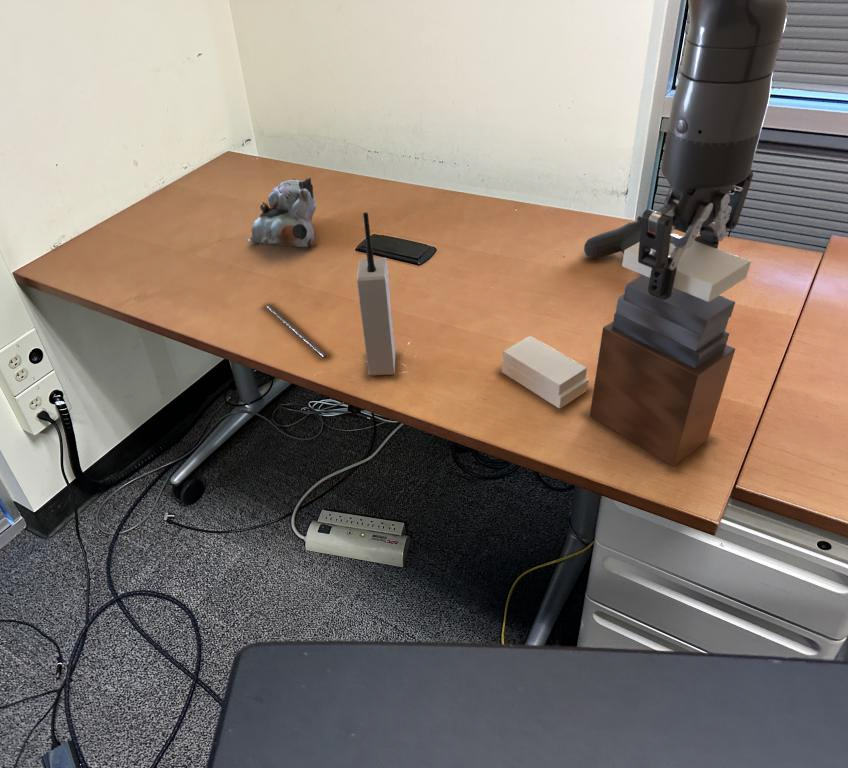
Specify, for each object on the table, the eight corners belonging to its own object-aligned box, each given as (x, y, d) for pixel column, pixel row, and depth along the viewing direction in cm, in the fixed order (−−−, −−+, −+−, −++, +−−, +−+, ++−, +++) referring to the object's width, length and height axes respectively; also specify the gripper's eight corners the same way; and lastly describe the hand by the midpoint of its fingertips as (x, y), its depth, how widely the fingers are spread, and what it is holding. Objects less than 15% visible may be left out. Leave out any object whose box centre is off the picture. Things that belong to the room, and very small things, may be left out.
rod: (270, 307, 118) (269, 303, 118) (327, 357, 105) (326, 354, 105) (266, 308, 118) (265, 305, 118) (323, 359, 105) (322, 356, 105)
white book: (746, 277, 69) (751, 260, 67) (708, 302, 66) (713, 284, 65) (658, 245, 76) (661, 228, 74) (621, 266, 73) (624, 249, 72)
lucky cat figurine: (241, 240, 138) (248, 169, 134) (297, 247, 143) (306, 178, 139) (261, 250, 125) (270, 170, 121) (322, 256, 129) (333, 181, 126)
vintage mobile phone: (395, 354, 103) (381, 200, 87) (394, 375, 99) (379, 218, 83) (370, 355, 104) (352, 202, 88) (368, 376, 100) (349, 220, 84)
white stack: (587, 390, 92) (590, 368, 89) (559, 409, 90) (562, 387, 87) (528, 356, 99) (530, 334, 96) (501, 372, 97) (502, 351, 94)
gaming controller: (656, 309, 107) (707, 265, 106) (646, 288, 103) (698, 242, 102) (587, 264, 120) (632, 223, 118) (576, 244, 116) (622, 201, 114)
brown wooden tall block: (707, 440, 82) (750, 301, 70) (672, 467, 80) (710, 328, 67) (623, 392, 91) (647, 260, 78) (589, 415, 88) (609, 283, 75)
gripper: (703, 159, 56) (667, 326, 67) (802, 107, 61) (755, 269, 72) (625, 139, 61) (604, 296, 72) (723, 92, 67) (689, 246, 77)
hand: (679, 282), depth 72 cm, fingers closed on white book, 6 cm apart
